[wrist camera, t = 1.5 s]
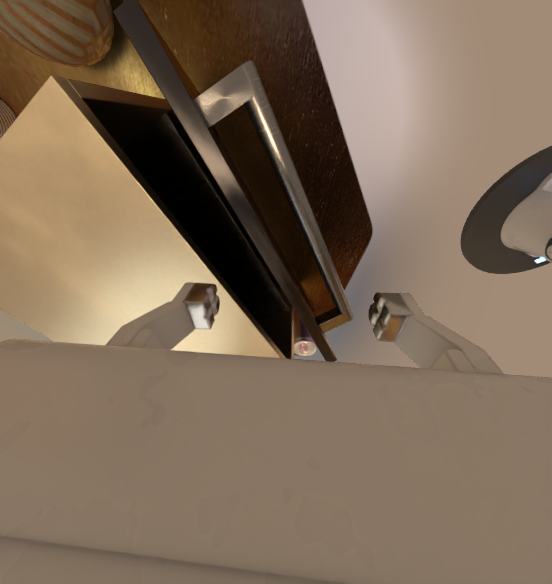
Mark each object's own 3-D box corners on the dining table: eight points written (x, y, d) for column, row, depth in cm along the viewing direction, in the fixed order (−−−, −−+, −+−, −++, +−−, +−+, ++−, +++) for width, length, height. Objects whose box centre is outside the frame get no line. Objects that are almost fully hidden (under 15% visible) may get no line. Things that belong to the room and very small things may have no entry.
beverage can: (309, 295, 58) (314, 338, 46) (315, 310, 61) (320, 354, 49) (289, 300, 59) (288, 343, 47) (295, 314, 63) (295, 358, 51)
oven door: (231, 77, 33) (210, -73, 12) (319, 271, 54) (369, 346, 33) (194, 104, 34) (111, 10, 13) (295, 284, 55) (328, 364, 34)
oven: (194, 105, 34) (50, 74, 14) (294, 284, 56) (294, 375, 35) (81, 197, 45) (-94, 255, 25) (201, 317, 66) (160, 402, 46)
